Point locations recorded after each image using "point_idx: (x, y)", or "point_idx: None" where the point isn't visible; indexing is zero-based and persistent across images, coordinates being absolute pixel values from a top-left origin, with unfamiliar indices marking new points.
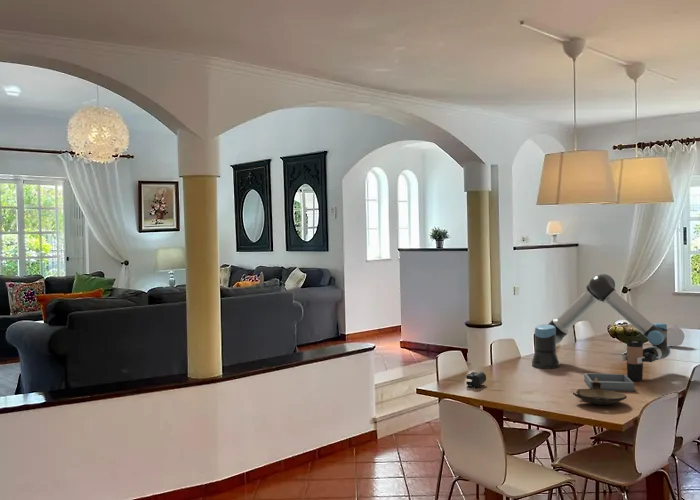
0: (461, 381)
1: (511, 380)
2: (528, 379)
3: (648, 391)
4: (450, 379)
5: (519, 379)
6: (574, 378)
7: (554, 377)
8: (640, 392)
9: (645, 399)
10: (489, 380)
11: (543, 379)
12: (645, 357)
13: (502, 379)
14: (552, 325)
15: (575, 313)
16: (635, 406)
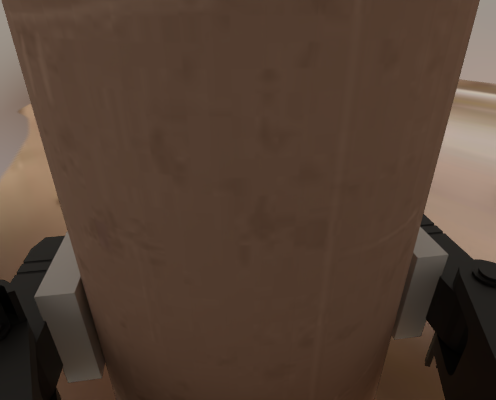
0: (458, 87)
1: (451, 116)
2: (459, 133)
3: (17, 246)
4: (484, 85)
5: (463, 125)
6: (451, 207)
7: (487, 176)
8: (56, 215)
9: (16, 171)
10: (460, 102)
11: (451, 149)
12: (18, 319)
13: (470, 112)
14: None
15: None
16: (36, 131)
